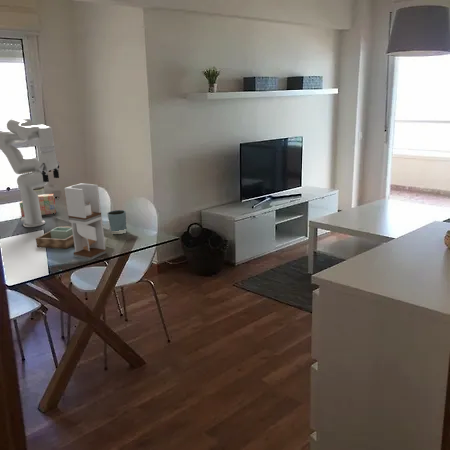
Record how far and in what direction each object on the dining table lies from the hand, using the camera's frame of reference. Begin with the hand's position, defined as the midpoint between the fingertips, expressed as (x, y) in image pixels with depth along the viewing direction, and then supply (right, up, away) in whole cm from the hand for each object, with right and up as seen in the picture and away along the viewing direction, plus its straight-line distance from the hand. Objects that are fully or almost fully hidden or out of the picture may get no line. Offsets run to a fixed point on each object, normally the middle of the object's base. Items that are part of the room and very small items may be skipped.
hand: (51, 179), depth 287 cm
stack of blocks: (-26, -18, +52) cm, 61 cm away
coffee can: (-33, -13, +71) cm, 79 cm away
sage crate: (+9, -33, -8) cm, 36 cm away
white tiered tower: (+30, -40, -31) cm, 59 cm away
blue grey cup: (+37, -30, +3) cm, 48 cm away
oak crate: (+9, -34, -8) cm, 36 cm away
